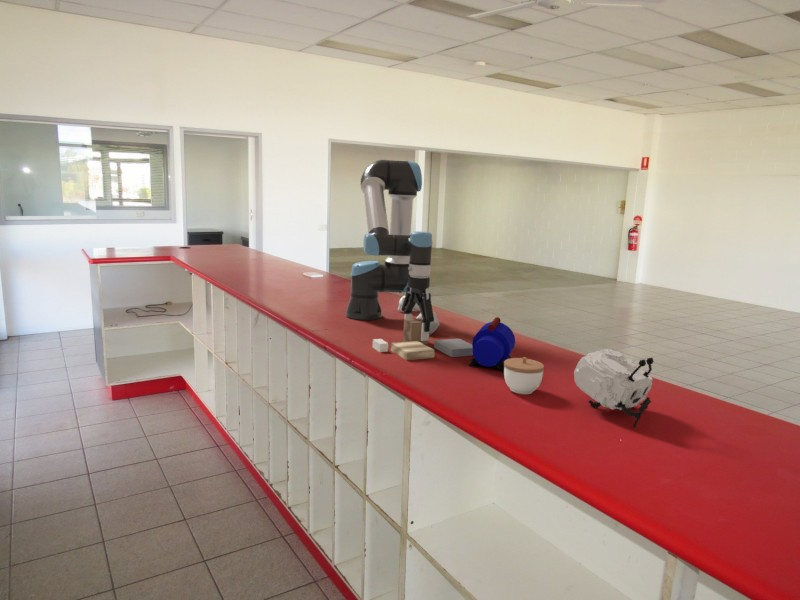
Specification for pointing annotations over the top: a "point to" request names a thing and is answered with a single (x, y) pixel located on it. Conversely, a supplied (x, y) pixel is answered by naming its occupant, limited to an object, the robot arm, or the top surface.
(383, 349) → the white brick
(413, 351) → the oak slab
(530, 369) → the lidded jar
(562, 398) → the top surface
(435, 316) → the die
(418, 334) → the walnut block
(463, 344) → the grey slab
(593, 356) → the robot
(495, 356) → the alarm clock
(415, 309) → the white rounded figure
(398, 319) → the top surface
